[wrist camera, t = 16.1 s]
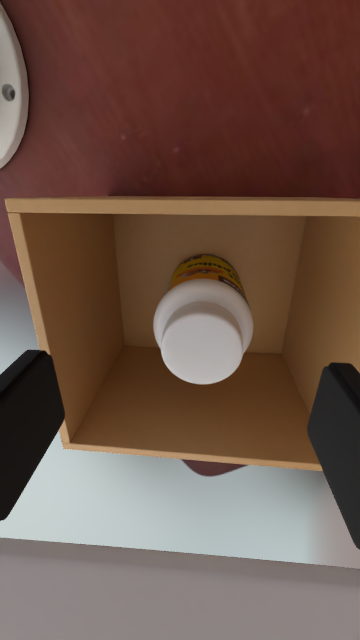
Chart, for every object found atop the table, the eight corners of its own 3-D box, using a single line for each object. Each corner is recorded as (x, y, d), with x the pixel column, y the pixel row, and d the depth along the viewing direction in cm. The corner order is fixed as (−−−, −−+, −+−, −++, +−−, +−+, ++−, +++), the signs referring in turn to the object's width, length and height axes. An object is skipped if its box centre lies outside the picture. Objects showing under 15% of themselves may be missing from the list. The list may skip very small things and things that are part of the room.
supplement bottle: (252, 268, 21) (285, 325, 12) (221, 327, 24) (230, 413, 14) (185, 240, 21) (166, 276, 12) (160, 303, 23) (129, 375, 14)
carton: (314, 197, 19) (437, 201, 9) (284, 355, 25) (339, 473, 14) (106, 195, 21) (3, 198, 10) (121, 347, 26) (62, 449, 16)
